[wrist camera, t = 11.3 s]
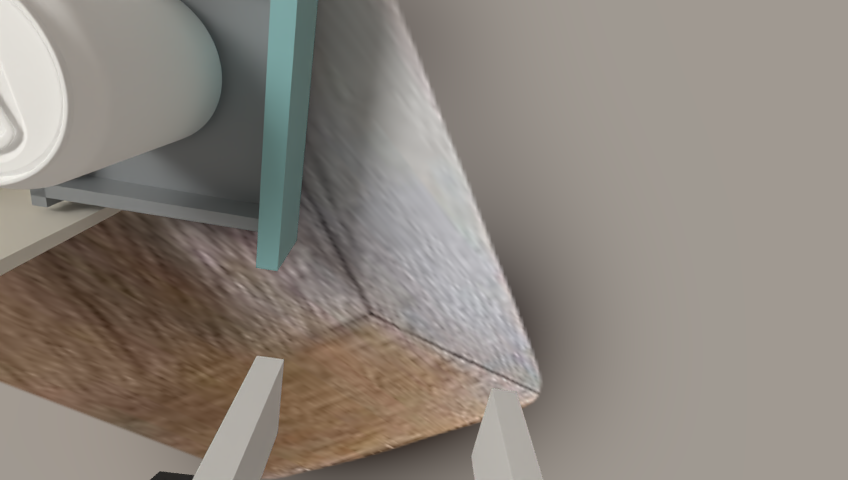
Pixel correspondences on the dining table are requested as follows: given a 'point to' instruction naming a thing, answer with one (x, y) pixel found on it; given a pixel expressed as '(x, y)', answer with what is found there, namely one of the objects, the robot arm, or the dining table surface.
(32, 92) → the beverage can
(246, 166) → the teal drawer
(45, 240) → the white drawer cabinet
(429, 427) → the dining table surface
